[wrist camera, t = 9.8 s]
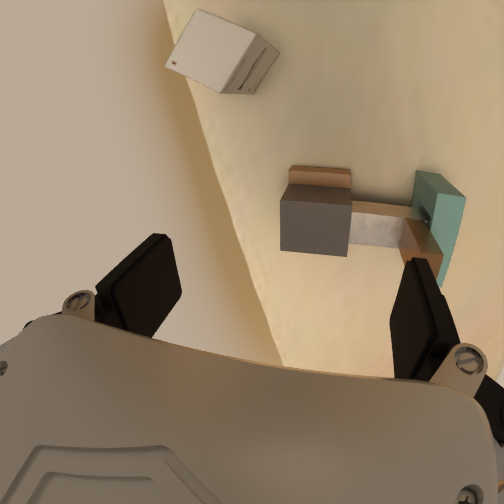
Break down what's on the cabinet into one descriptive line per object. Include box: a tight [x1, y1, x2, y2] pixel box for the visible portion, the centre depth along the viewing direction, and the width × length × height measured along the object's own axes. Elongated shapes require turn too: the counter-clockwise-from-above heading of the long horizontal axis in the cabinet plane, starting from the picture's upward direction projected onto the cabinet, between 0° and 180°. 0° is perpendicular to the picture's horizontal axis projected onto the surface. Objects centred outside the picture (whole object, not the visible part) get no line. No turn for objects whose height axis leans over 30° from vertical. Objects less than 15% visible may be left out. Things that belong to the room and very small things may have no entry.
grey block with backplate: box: [280, 166, 352, 257], centre depth 36 cm, size 10×8×9 cm
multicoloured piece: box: [349, 200, 444, 280], centre depth 30 cm, size 4×14×12 cm, turn 93°
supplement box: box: [165, 9, 279, 95], centre depth 27 cm, size 7×7×13 cm
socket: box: [411, 171, 466, 287], centre depth 32 cm, size 12×4×10 cm, turn 3°
